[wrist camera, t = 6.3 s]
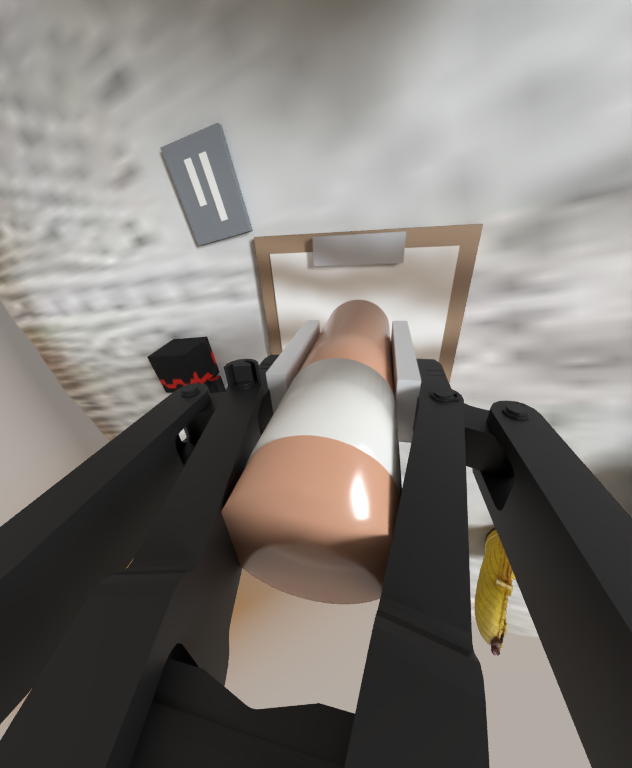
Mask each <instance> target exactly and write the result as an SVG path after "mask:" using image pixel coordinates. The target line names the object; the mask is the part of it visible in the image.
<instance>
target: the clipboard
mask: <svg viewBox="0 0 632 768" xmlns="http://www.w3.org/2000/svg"><path fill="white" fill-rule="evenodd" d="M482 226H483V224H470V225H453V226H436V227H419V228H402V229H384V230H367V231H350V232H333V233H316V234H299V235H282V236H264V237H254V243H255V250H256V256H257V263H258V269H259V276H260V283H261V289H262V296H263V302H264V309H265V316H266V322H267V329H268V335H269V342H270V348H271V355H272V354H273V355H280V354H281V353H282V351H283V350H284V349H285V347H286V346H287V345H288V343H289V342H290V341H291V340H292V338H293V337H294V336H295V334H296V333H297V332H298V330H299V329H300V328H301V327H302V325H303V324H304V323H305V321H306V320H319V321H320V333H321V331H322V330H323V328H324V326H325V324H326V322H327V321H328V319H329V317H330V315H331V314H332V312H333V311H334V310H335V309H336V308H337V307H338V306H340V305H341V304H343V303H345V302H347V301H351V300H366V301H369V302H372V303H374V304H376V305H377V306H379V307H380V308H381V309H382V310H383V311H384V313H385V314H386V316H387V318H388V320H389V324H390V336H391V334H392V322H393V321H407V322H408V326H409V330H410V334H411V339H412V343H413V347H414V351H415V356H416V359H435V360H436V361H438V362H439V363H440V364H442V367H443V369H444V372H445V374H446V377H447V379H448V382H450V377H451V372H452V368H453V363H454V358H455V353H456V349H457V344H458V339H459V335H460V330H461V325H462V320H463V316H464V311H465V306H466V302H467V297H468V292H469V287H470V283H471V278H472V273H473V269H474V264H475V259H476V255H477V250H478V245H479V240H480V236H481V231H482Z"/></svg>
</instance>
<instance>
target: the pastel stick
mask: <svg viewBox="0 0 632 768" xmlns="http://www.w3.org/2000/svg"><path fill="white" fill-rule="evenodd" d="M401 493H402V484H401V469H400V455H399V440H398V425H397V411H396V401H395V397H394V386H393V369H392V353H391V336H390V324H389V320H388V318H387V316H386V314H385V313H384V311H383V310H382V309H381V308H380V307H379V306H377V305H376V304H374V303H372V302H369V301H366V300H351V301H347V302H345V303H343V304H341V305H340V306H338V307H337V308H336V309H335V310H334V311H333V312H332V314H331V315H330V317H329V319H328V321H327V322H326V324H325V326H324V328H323V330H322V331H321V333H320V335H319V337H318V339H317V340H316V342H315V344H314V346H313V348H312V349H311V351H310V353H309V355H308V357H307V358H306V360H305V362H304V364H303V366H302V367H301V369H300V371H299V373H298V374H297V375H296V376H295V378H294V379H293V381H292V383H291V384H290V386H289V388H288V390H287V391H286V393H285V395H284V397H283V398H282V400H281V402H280V404H279V405H278V407H277V409H276V411H275V413H274V414H273V416H272V418H271V420H270V421H269V423H268V425H267V427H266V428H265V430H264V432H263V434H262V435H261V437H260V439H259V441H258V443H257V444H256V446H255V448H254V450H253V451H252V453H251V455H250V457H249V458H248V461H247V463H246V465H245V470H244V471H243V473H242V475H241V477H240V479H239V480H238V482H237V484H236V486H235V488H234V489H233V491H232V493H231V495H230V497H229V498H228V500H227V502H226V504H225V506H224V507H223V509H222V511H221V513H222V515H223V518H224V521H225V524H226V527H227V530H228V532H229V535H230V538H231V541H232V544H233V546H234V549H235V552H236V555H237V558H238V561H239V563H240V566H241V567H242V568H243V569H244V570H246V571H247V572H248V573H250V574H251V575H252V576H254V577H255V578H257V579H259V580H260V581H262V582H264V583H266V584H268V585H270V586H271V587H274V588H276V589H278V590H280V591H283V592H285V593H288V594H291V595H294V596H297V597H300V598H304V599H308V600H312V601H317V602H323V603H332V604H358V603H364V602H370V601H373V600H377V599H380V597H381V593H382V588H383V583H384V578H385V573H386V568H387V563H388V558H389V553H390V548H391V543H392V538H393V533H394V528H395V523H396V518H397V513H398V508H399V503H400V498H401Z"/></svg>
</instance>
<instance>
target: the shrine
mask: <svg viewBox="0 0 632 768" xmlns="http://www.w3.org/2000/svg"><path fill="white" fill-rule="evenodd" d="M484 547H485V555H484V559H483V562H482V566H481V569H480V574H479V579H478V582H477V589H476V595H475V617H476V622H477V626H478V629H479V631H480V634H481V635H482V637H483V638H484V640H485V641H486V642H487V643H488V644H489V645H491V651H492V653H493V655H499V654H500V649H501V648H502V643H503V637H504V636H505V635H504V634H506V631H507V627H506V625H507V623H506V608H507V602H508V599H507V598H508V595H509V596H511V593H512V590H513V586H512V585H511V584H512V579H514V580H516V578H515V576H514V573H513V571H512V568H511V566H510V563H509V561H508V558H507V556H506V553H505V551H504V548H503V546H502V543H501V541H500V538H499V536H498V533H497V531H496V528H493V529H492V530H490V532H489V533H488V534H487V536H486V540H485V546H484ZM511 578H512V579H511Z"/></svg>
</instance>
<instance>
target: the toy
mask: <svg viewBox="0 0 632 768" xmlns="http://www.w3.org/2000/svg"><path fill="white" fill-rule="evenodd" d="M148 359H149V361H150V363H151V365H152V367H153V369H154V370H155V372H156V374H157V376H158V378H159V380H160V382H161V384H162V385H163V387H164V389H165V391H166V393H170V392H174V391H176V390H177V389H179V388H181V387H183V386H186V385H187V384H191V383H201V384H205V385H206V386H208V389H209V393H218V392H225V391H226V390H225V387H224V384H223V381H222V379H221V376H216V375H217V374H218V373H219V370H218V367H217V364H216V361H215V358H214V355H213V352H212V350H211V347H210V344H209V341H208V338H207V337H198V338H184V339H173V340H172V341H170V342H169V343H167V344H166V345H164V346H163V347H161V348H160V349H158V350H157V351H156V352H154V353H153V354H151V355H150V356H148Z"/></svg>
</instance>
